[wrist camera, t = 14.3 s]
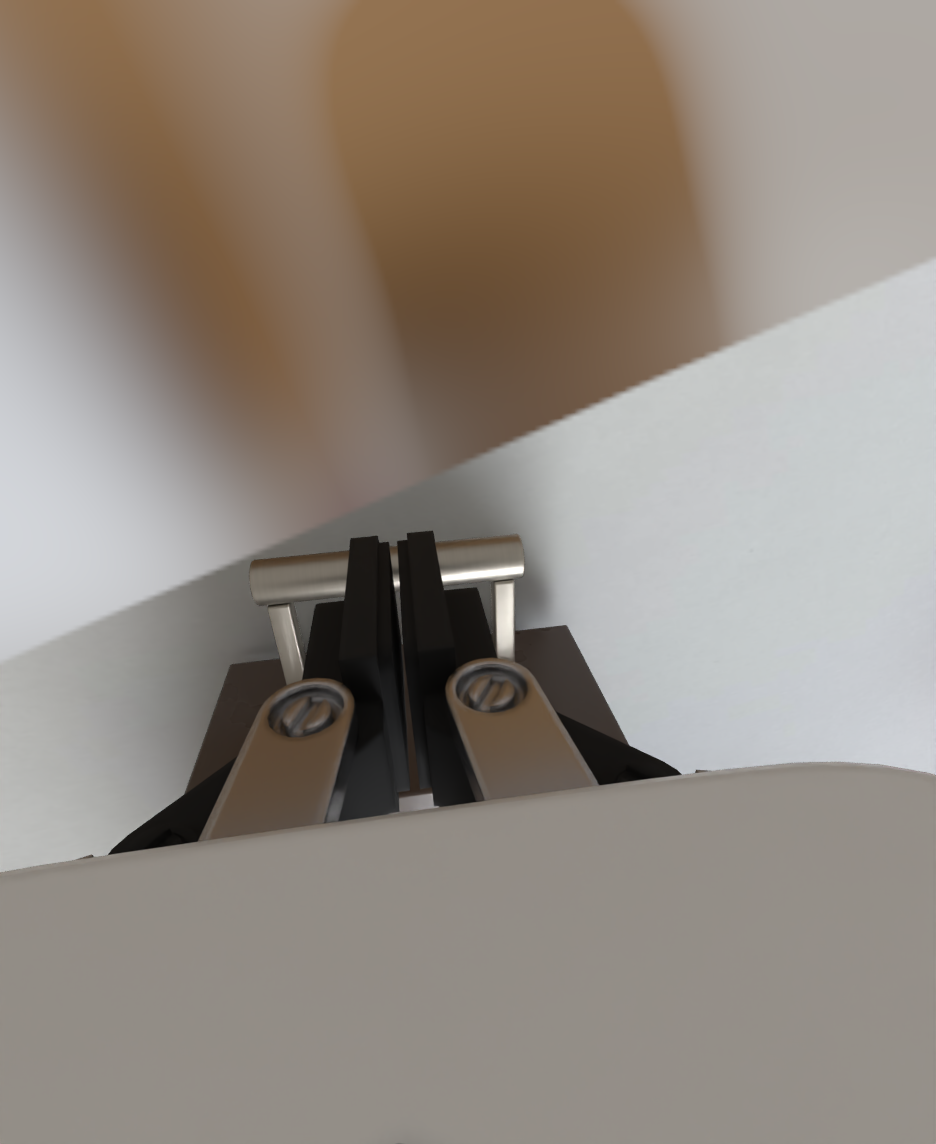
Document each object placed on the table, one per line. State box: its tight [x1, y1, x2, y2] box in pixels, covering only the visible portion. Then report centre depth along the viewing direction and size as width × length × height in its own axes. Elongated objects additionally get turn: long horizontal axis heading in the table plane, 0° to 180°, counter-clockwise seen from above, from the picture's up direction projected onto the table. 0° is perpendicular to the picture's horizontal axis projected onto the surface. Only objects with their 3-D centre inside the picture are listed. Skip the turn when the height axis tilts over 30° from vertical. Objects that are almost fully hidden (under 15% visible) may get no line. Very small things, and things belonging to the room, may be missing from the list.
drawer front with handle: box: [185, 534, 629, 814], centre depth 20 cm, size 19×12×7 cm, turn 2°
